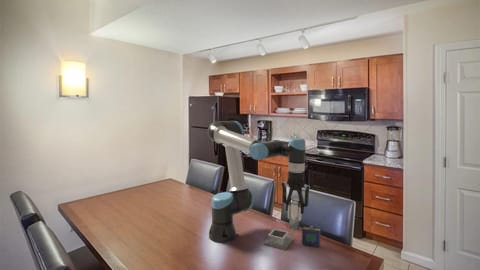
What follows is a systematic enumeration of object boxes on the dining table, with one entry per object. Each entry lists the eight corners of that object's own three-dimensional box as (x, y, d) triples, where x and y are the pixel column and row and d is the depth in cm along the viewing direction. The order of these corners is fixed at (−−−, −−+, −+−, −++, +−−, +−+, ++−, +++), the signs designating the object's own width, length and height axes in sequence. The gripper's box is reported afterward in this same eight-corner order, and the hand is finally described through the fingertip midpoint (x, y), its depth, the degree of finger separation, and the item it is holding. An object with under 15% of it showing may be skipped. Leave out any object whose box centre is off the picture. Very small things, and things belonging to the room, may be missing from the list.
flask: (319, 245, 137) (320, 225, 136) (320, 247, 134) (320, 227, 133) (301, 243, 139) (302, 223, 138) (301, 245, 136) (302, 225, 135)
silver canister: (287, 228, 126) (288, 200, 124) (290, 224, 130) (291, 197, 129) (297, 231, 124) (299, 202, 122) (300, 227, 128) (301, 199, 126)
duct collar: (263, 244, 137) (263, 235, 137) (271, 235, 148) (272, 226, 148) (285, 250, 132) (285, 241, 131) (292, 240, 142) (292, 231, 142)
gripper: (275, 170, 125) (274, 217, 127) (313, 175, 117) (311, 225, 119) (281, 167, 131) (279, 212, 134) (317, 171, 123) (314, 219, 126)
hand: (294, 218), depth 126 cm, fingers closed on silver canister, 5 cm apart
